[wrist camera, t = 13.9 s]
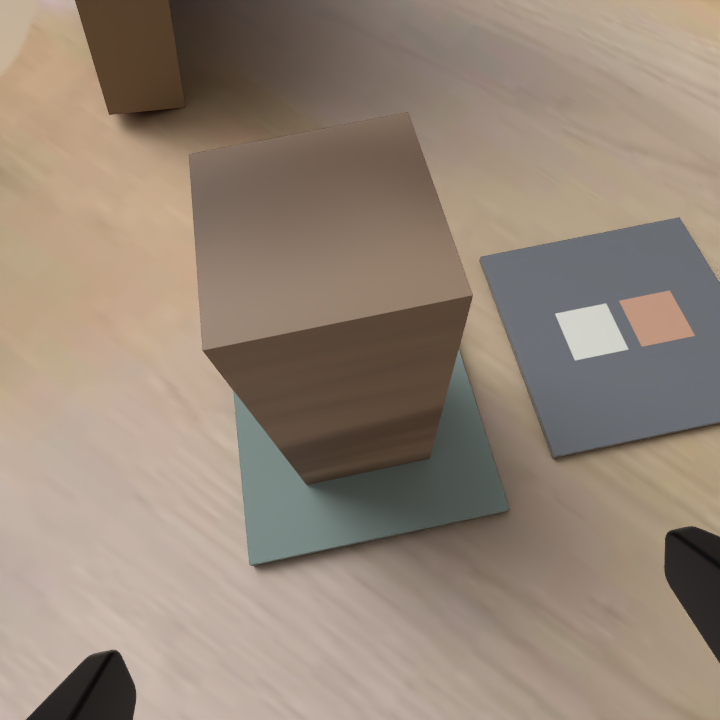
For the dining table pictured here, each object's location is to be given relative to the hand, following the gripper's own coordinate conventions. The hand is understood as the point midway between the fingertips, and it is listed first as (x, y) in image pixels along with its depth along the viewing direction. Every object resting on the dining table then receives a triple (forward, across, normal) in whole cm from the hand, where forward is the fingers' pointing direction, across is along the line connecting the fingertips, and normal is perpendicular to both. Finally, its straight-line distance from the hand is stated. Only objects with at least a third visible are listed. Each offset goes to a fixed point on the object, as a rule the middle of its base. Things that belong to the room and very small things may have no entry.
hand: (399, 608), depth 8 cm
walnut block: (+13, 0, +2) cm, 13 cm away
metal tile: (+14, -12, +2) cm, 19 cm away
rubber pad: (+13, 0, +3) cm, 13 cm away
